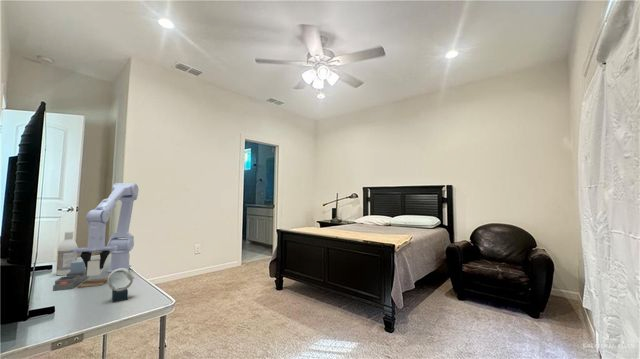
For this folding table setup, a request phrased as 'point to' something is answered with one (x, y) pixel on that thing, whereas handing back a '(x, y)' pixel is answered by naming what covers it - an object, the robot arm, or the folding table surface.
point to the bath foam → (66, 254)
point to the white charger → (94, 267)
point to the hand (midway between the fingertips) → (94, 269)
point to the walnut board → (93, 282)
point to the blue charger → (77, 266)
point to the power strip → (70, 281)
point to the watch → (120, 293)
